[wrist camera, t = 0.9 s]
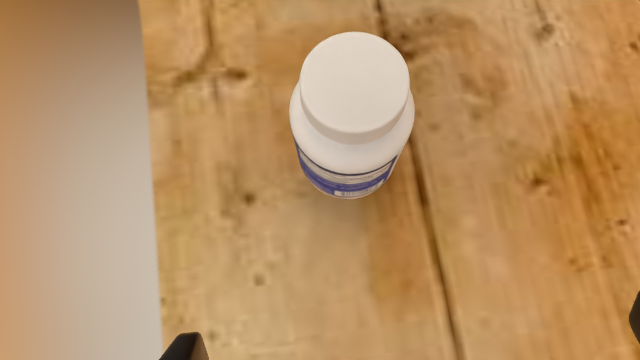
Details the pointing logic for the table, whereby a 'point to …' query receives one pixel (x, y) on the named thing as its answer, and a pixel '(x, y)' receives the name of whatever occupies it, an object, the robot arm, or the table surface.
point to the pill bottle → (351, 114)
